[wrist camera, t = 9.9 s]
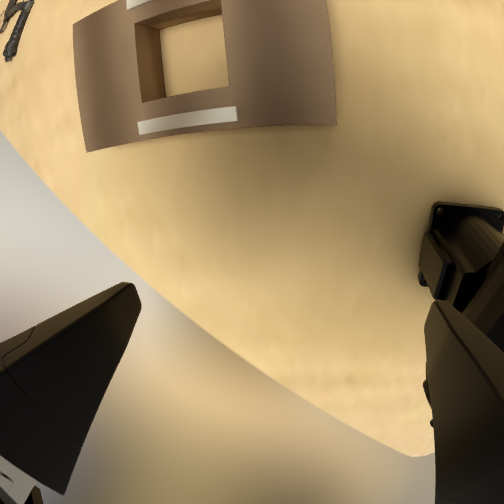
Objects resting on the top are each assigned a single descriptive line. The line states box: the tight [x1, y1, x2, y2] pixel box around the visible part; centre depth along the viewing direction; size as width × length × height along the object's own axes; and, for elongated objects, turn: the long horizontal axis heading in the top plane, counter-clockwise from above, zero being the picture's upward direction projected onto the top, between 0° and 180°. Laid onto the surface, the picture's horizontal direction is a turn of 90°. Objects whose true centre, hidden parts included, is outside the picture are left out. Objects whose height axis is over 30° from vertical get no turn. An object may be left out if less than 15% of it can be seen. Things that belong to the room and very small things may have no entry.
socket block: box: [73, 0, 337, 152], centre depth 14 cm, size 16×10×3 cm, turn 95°
